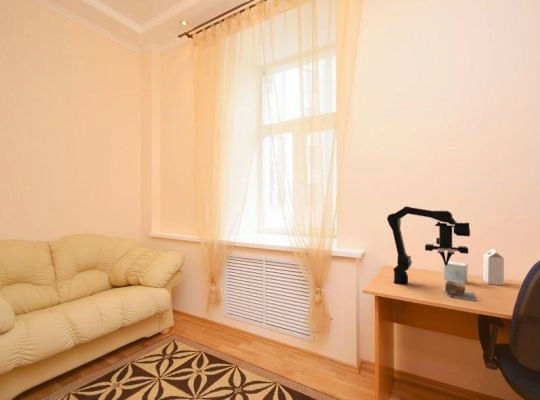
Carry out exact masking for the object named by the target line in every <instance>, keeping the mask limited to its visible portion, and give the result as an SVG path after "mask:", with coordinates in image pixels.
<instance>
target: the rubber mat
mask: <svg viewBox="0 0 540 400" xmlns="http://www.w3.org/2000/svg"><path fill="white" fill-rule="evenodd" d="M452 297H453V299H458V300H463V301H464V300H465V301H470V302H475V303H476V302H477V298H476V296H475V293H473V292H468V291H467V292H466V291H465V292H464V296H459V295H456V294H452Z"/></svg>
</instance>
